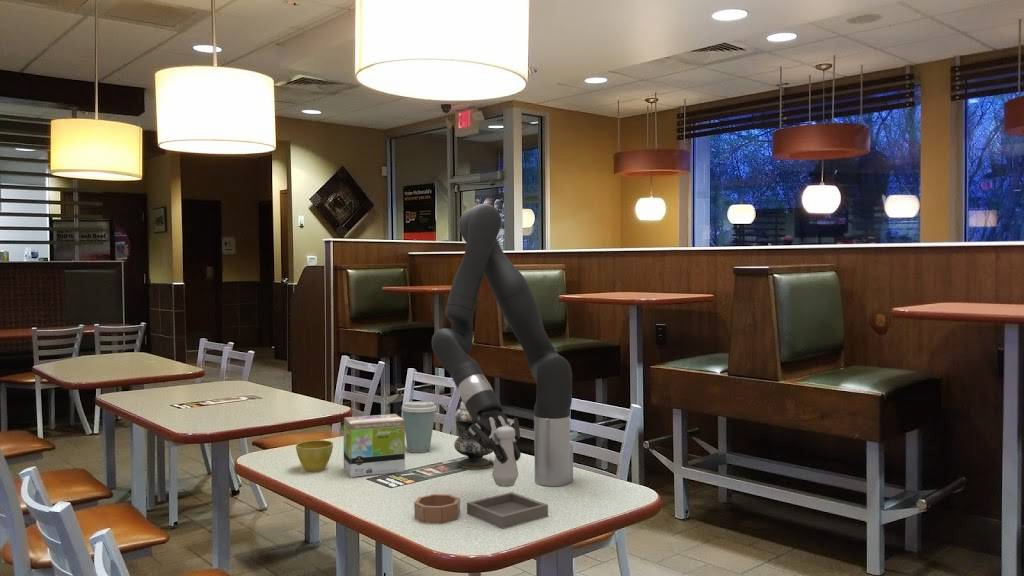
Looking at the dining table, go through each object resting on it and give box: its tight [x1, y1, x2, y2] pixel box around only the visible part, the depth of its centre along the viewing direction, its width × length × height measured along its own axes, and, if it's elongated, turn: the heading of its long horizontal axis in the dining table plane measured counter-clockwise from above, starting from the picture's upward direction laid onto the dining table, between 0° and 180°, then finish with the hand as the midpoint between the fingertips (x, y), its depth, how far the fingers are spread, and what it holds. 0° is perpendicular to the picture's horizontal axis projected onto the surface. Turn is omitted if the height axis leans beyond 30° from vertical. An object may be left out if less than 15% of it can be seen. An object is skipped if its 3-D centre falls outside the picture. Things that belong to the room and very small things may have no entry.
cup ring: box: [413, 493, 461, 524], centre depth 176 cm, size 10×10×4 cm
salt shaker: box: [492, 425, 519, 488], centre depth 176 cm, size 6×6×13 cm
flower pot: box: [295, 439, 334, 473], centre depth 217 cm, size 10×10×7 cm
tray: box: [466, 491, 549, 529], centre depth 176 cm, size 13×13×2 cm
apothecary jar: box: [453, 400, 494, 470], centre depth 221 cm, size 12×12×18 cm
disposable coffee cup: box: [401, 401, 437, 454], centre depth 238 cm, size 11×11×15 cm
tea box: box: [343, 413, 406, 478], centre depth 215 cm, size 15×10×15 cm, turn 114°
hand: (511, 460), depth 175 cm, fingers closed on salt shaker, 3 cm apart
